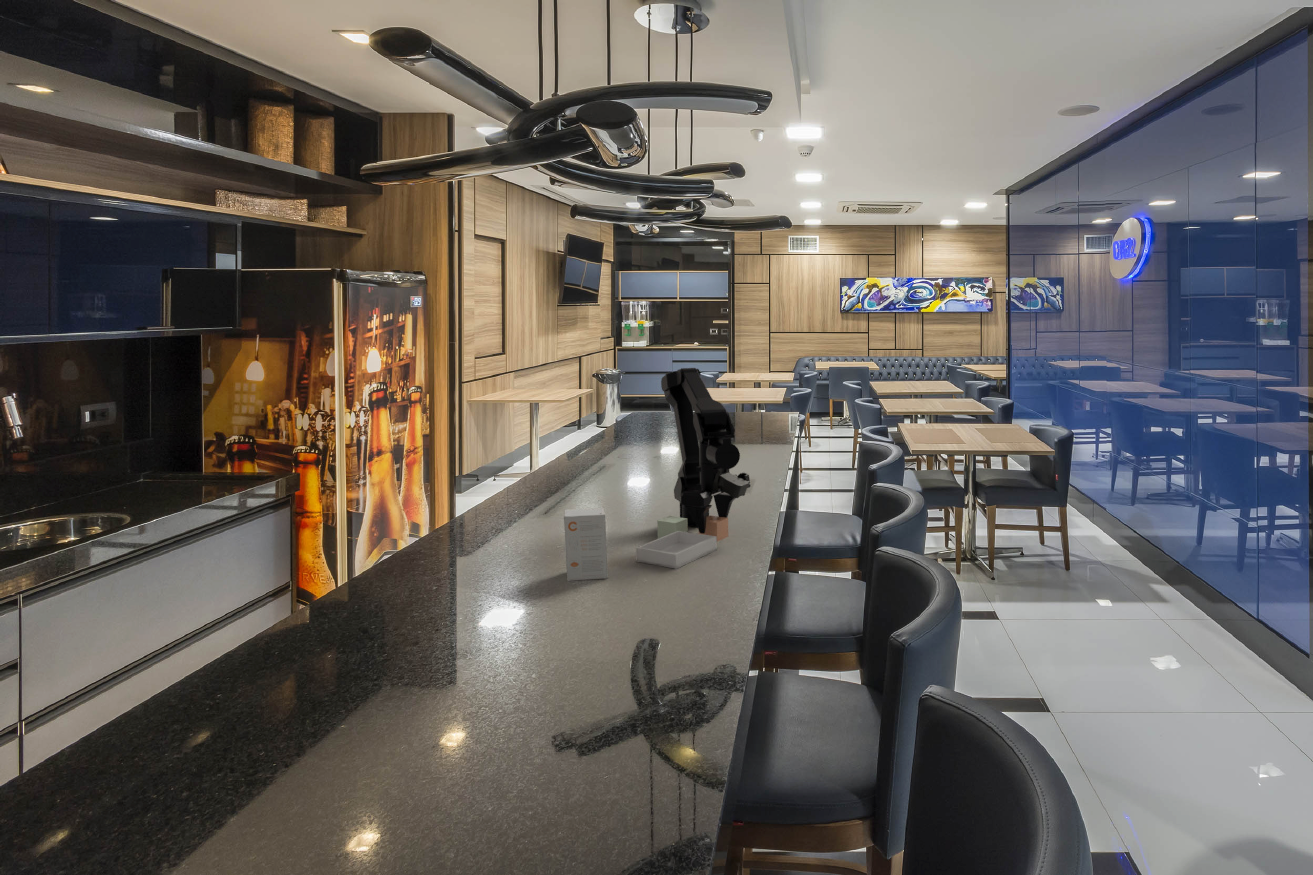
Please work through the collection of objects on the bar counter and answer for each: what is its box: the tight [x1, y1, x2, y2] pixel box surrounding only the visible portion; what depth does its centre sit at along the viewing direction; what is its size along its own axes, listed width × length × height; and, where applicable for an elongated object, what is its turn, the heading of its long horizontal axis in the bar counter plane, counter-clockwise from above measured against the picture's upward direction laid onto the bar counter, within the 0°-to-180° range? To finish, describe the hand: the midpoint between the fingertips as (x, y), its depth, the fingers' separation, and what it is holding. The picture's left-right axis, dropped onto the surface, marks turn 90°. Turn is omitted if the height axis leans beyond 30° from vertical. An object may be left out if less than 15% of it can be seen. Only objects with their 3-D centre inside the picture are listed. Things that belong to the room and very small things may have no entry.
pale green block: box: [657, 515, 689, 539], centre depth 189 cm, size 5×5×4 cm
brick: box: [698, 515, 729, 542], centre depth 188 cm, size 5×5×4 cm
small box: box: [563, 507, 609, 582], centre depth 162 cm, size 8×6×13 cm
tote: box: [635, 531, 718, 570], centre depth 175 cm, size 10×16×3 cm, turn 145°
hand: (713, 528), depth 189 cm, fingers open, 9 cm apart
